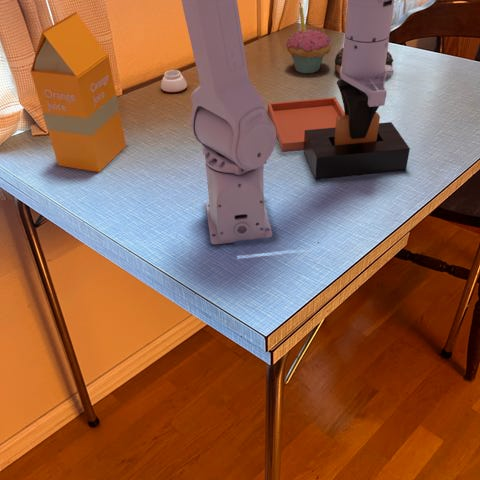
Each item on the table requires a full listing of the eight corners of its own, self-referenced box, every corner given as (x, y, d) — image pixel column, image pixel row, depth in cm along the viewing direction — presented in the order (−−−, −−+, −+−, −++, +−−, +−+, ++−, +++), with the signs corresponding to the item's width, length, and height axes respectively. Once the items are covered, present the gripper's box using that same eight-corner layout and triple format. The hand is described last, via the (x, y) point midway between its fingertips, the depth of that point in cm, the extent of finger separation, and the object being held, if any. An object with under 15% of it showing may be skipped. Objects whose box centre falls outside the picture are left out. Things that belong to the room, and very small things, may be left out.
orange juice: (127, 145, 93) (101, 12, 79) (100, 172, 87) (66, 33, 73) (85, 140, 95) (53, 9, 81) (56, 165, 89) (16, 29, 75)
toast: (374, 161, 85) (380, 116, 80) (334, 164, 84) (338, 119, 80) (371, 156, 86) (377, 111, 81) (332, 160, 85) (336, 115, 81)
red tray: (357, 146, 89) (358, 136, 88) (282, 154, 89) (282, 143, 87) (334, 107, 100) (335, 97, 99) (267, 113, 99) (267, 103, 98)
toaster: (405, 173, 83) (410, 148, 80) (315, 182, 82) (316, 157, 79) (387, 146, 89) (391, 121, 86) (303, 154, 88) (304, 130, 85)
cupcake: (282, 75, 111) (282, 8, 103) (291, 59, 117) (293, -5, 109) (325, 78, 109) (329, 10, 101) (332, 62, 115) (337, -4, 106)
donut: (345, 86, 106) (347, 65, 103) (325, 64, 114) (327, 43, 111) (400, 79, 107) (404, 58, 104) (377, 58, 116) (380, 37, 113)
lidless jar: (157, 93, 108) (182, 94, 106) (155, 77, 105) (180, 79, 104) (166, 82, 111) (190, 84, 110) (164, 67, 109) (189, 68, 108)
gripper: (416, 52, 68) (398, 155, 77) (380, 15, 78) (369, 110, 88) (358, 57, 67) (348, 160, 77) (330, 19, 78) (324, 114, 87)
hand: (356, 134), depth 82 cm, fingers closed on toast, 1 cm apart
